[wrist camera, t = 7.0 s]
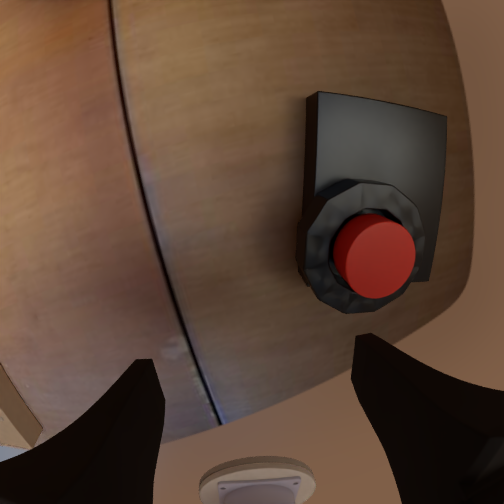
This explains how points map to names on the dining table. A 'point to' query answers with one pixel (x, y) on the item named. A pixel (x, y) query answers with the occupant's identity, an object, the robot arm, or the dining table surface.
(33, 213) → the dining table surface
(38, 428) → the panel
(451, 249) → the dining table surface
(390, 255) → the cylinder
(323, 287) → the box
